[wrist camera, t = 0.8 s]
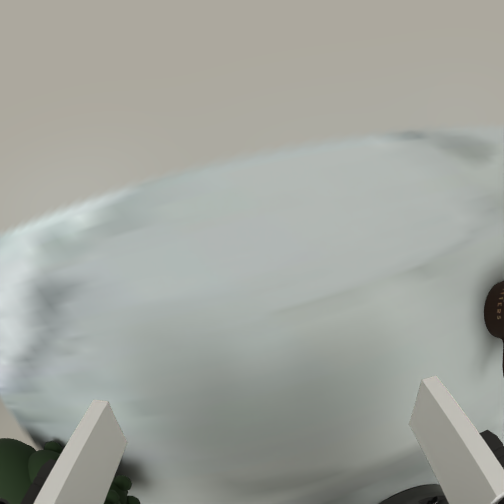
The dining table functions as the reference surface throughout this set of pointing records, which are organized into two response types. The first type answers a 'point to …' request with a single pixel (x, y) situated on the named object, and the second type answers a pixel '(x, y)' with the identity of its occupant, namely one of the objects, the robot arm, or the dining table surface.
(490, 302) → the coffee mug
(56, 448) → the toy figurine
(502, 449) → the robot arm
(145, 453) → the dining table surface
